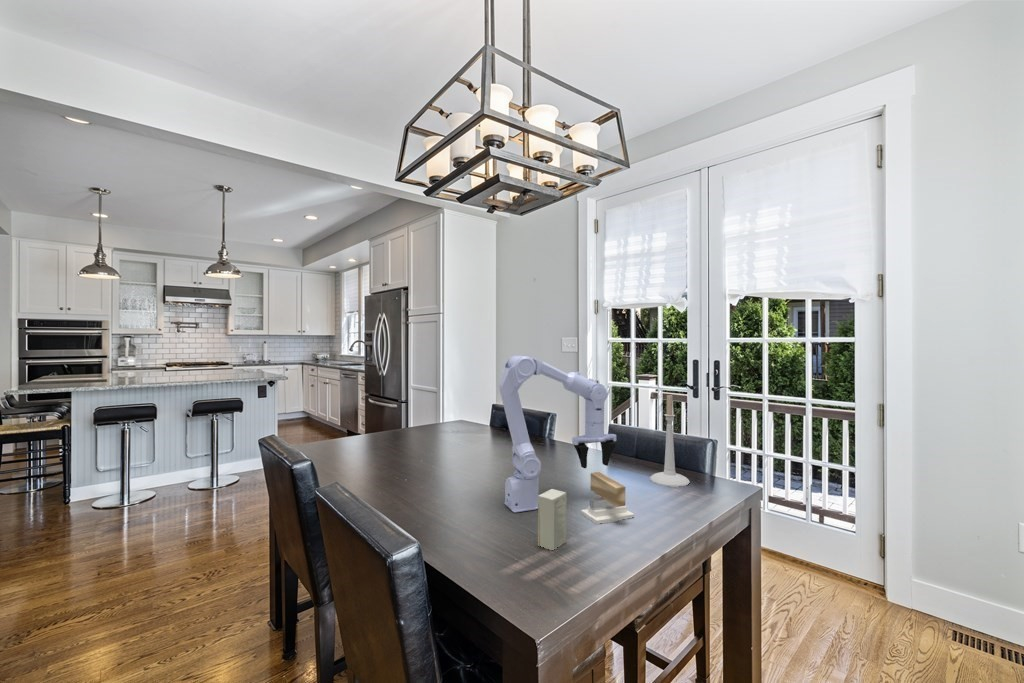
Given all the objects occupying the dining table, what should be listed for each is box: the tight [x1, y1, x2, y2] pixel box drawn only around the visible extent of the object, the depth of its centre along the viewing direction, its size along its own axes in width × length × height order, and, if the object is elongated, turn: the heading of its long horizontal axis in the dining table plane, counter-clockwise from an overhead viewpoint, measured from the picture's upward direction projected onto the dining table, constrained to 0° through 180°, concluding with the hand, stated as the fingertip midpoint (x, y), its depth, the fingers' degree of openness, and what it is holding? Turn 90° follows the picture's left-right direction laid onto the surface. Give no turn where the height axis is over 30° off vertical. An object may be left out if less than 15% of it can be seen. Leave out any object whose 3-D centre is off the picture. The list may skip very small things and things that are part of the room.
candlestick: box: [649, 394, 690, 488], centre depth 155 cm, size 13×13×30 cm
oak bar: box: [590, 471, 626, 507], centre depth 125 cm, size 3×14×5 cm, turn 18°
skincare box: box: [537, 488, 567, 551], centre depth 107 cm, size 6×4×12 cm
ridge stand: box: [580, 496, 635, 525], centre depth 125 cm, size 12×8×5 cm, turn 112°
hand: (594, 466), depth 138 cm, fingers open, 7 cm apart
